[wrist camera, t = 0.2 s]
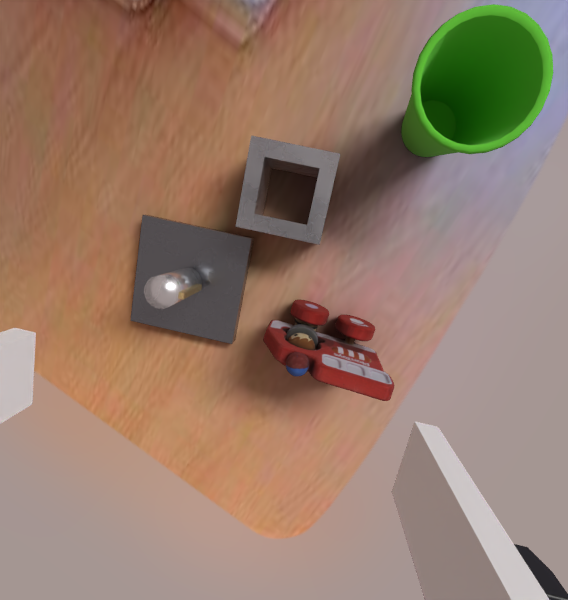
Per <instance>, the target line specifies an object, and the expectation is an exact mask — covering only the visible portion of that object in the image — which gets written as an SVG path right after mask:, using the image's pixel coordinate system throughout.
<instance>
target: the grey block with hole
mask: <svg viewBox="0 0 568 600" xmlns="http://www.w3.org/2000/svg"><path fill="white" fill-rule="evenodd" d="M339 158H340V154H339V153H334V152H329V151H324V150H319V149H314V148H310V147H305V146H300V145H295V144H290V143H285V142H280V141H275V140H271V139H266V138H261V137H256V136H251V141H250V147H249V152H248V158H247V164H246V170H245V175H244V181H243V187H242V193H241V198H240V204H239V210H238V215H237V221H236V227H240V228H245V229H249V230H254V231H259V232H263V233H268V234H272V235H277V236H282V237H286V238H291V239H295V240H300V241H305V242H309V243H314V244H319V245H320V241H321V236H322V232H323V228H324V223H325V219H326V215H327V210H328V206H329V202H330V197H331V193H332V189H333V184H334V180H335V176H336V171H337V167H338V163H339ZM272 168H273V169H278V170H283V171H287V172H292V173H297V174H302V175H307V176H311V177H316V178H317V183H316V187H315V192H314V197H313V201H312V206H311V210H310V215H309V219H308V224H307V225H305V224H300V223H296V222H291V221H286V220H282V219H277V218H272V217H268V216H263V213H264V208H265V203H266V197H267V192H268V187H269V182H270V176H271V171H272Z"/></svg>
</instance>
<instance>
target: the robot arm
mask: <svg viewBox="0 0 568 600" xmlns="http://www.w3.org/2000/svg"><path fill="white" fill-rule="evenodd" d="M35 339H36V333H35V332H31V331H26V330H22V329H18V328H12V329H9V330H6V331H3V332H0V424H1V423H2V422H4V421H6V420H7V419H9V418H10V417H12V416H14V415H15V414H17V413H18V412H20V411H22V410H24V409H25V408H27V407H28V406H30V405H32V398H33V379H34V359H35ZM392 494H393V497H394V500H395V504H396V507H397V510H398V513H399V517H400V520H401V523H402V527H403V530H404V533H405V536H406V540H407V543H408V546H409V550H410V553H411V556H412V559H413V563H414V566H415V569H416V572H417V576H418V579H419V582H420V586H421V589H422V592H423V595H424V599H425V600H568V594H567V592H566V591H565V589H564V588H563V587H562V585H561V584H560V583H559V581H558V579H557V578H556V577H555V575H554V574H553V572H552V571H551V570H550V569H549V568H548V567H547V566H546V565H545V564H544V563H543V562H542V561H541V560H539V558H538V557H537V556H536V555H535V554H534V553H533V552H532V551H531V550H529V548H527V547H524V546H520V545H515V544H513V542H512V541H511V539H510V538H509V536H508V535H507V533H506V531H505V530H504V528H503V527H502V525H501V524H500V523H499V521H498V519H497V518H496V516H495V514H494V513H493V511H492V510H491V508H490V507H489V505H488V504H487V502H486V501H485V499H484V497H483V496H482V494H481V493H480V491H479V490H478V488H477V487H476V485H475V483H474V482H473V480H472V479H471V477H470V476H469V474H468V473H467V471H466V470H465V468H464V466H463V465H462V463H461V462H460V460H459V459H458V457H457V456H456V454H455V453H454V451H453V450H452V448H451V446H450V445H449V443H448V442H447V440H446V439H445V437H444V435H443V434H442V433H441V431H440V429H439V428H438V427H436V426H432V425H428V424H424V423H419V422H414V425H413V428H412V431H411V434H410V437H409V441H408V444H407V447H406V450H405V453H404V456H403V459H402V462H401V465H400V468H399V471H398V474H397V478H396V480H395V483H394V486H393V490H392Z"/></svg>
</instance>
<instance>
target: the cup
mask: <svg viewBox="0 0 568 600" xmlns="http://www.w3.org/2000/svg"><path fill="white" fill-rule="evenodd" d="M552 76H553V59H552V52H551V49H550V46H549V42H548V39H547V37H546V36H545V34H544V33H543V31H542V29H541V28H540V26H539V25H538V24H537V23H536V22H535V21H534V20H533V19H532V18H530V17H529V16H528V15H527V14H526V13H524V12H521V11H519V10H517V9H515V8H512V7H509V6H501V5H486V6H479V7H474V8H472V9H469V10H467V11H464V12H462V13H459V14H457V15H456V16H454V17H453V18H451V19H450V20H448V21H447V22H446V23H444V24H443V25H442V26H441V27H440V28H439V29H438V30H437V31H436V32H435V33H434V34H433V35H432V36H431V37H430V39H429V40H428V42H427V43H426V45H425V47H424V48H423V50H422V52H421V53H420V55H419V58H418V61H417V64H416V67H415V70H414V73H413V82H412V95H411V98H410V101H409V104H408V107H407V110H406V113H405V116H404V120H403V123H402V129H401V134H402V139H403V142H404V144H405V146H406V147H407V149H408V150H409V151H411V152H412V153H413V154H415V155H417V156H421V157H432V156H438V155H444V154H450V153H457V152H460V153H466V154H475V153H486V152H489V151H492V150H495V149H498V148H501V147H503V146H505V145H506V144H508V143H510V142H511V141H513V140H515V139H516V138H518V137H519V136H520V135H521V134H522V133H523V132H524V131H525V130H526V129H527V128H528V127H529V126H531V124H532V123H533V121H534V120H535V119H536V117H537V116H538V114H539V113H540V111H541V110H542V108H543V105H544V103H545V101H546V98H547V96H548V94H549V91H550V86H551V81H552Z"/></svg>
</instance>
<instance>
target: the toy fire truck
mask: <svg viewBox="0 0 568 600" xmlns="http://www.w3.org/2000/svg"><path fill="white" fill-rule="evenodd" d="M291 315H292V316H294V317H295V318H296V319H295V325H292V324H289V323H285V322H282V321H278V320H272V321H271V322H270V324H269V326H268V328H267V330H266V333H265V335H264V339H263V341H264V342H265V344H266V345H267V347H268V348H269V350H270V351H271V353H272V355H273V356H274V358H275V359H277V360H278V361H279V362H281V363H282V364H283V365H285V366H286V368H287V370H288V372H289V373H290V374H291V375H293V376H302V375H304V374H305V373H306V372H307V371H308V372H310V374H311V376H312V377H313V378H315V379H316V380H318V381H320V382H324V383H326V384H330V385H333V386H336V387H340V388H343V389H347V390H350V391H353V392H356V393H360V394H363V395H366V396H369V397H372V398H376V399H379V400H382V401H388V400H390V398H391V395H392V392H393V389H394V383H393V381H392V379H391V377H390V376H389V375H388V374H387V373H385V372H384V371H383V368H382V366H381V364H380V361H379V359H378V356H377V354H376V352H375V351H374V350H372V349H370V348H368V347H365V346H362V345H358V344H356V343H355V342H354V341H355V339H356V340H360V341H369V340H371V339H372V337H373V334H374V331H375V327H374V326H373V325H372V324H371V323H369V322H367V321H365V320H363V319H360V318H357V317H354V316H350V315H340V316H339V317H338V319H337V322H336V325H335V328H336V330H337V331H338V332H340V333H341V334H343V335H345V336H347V338H346V339H338V338H335V337H332V336H328V335H325V334H322V333H318V332H315V331H316V330H317V326H318V325H325V324H326V322H327V319H328V316H329V311H328V310H327V309H326V308H324V307H322V306H320V305H318V304H316V303H313V302H309V301H305V300H295V301H294V302H293V305H292V308H291Z"/></svg>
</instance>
